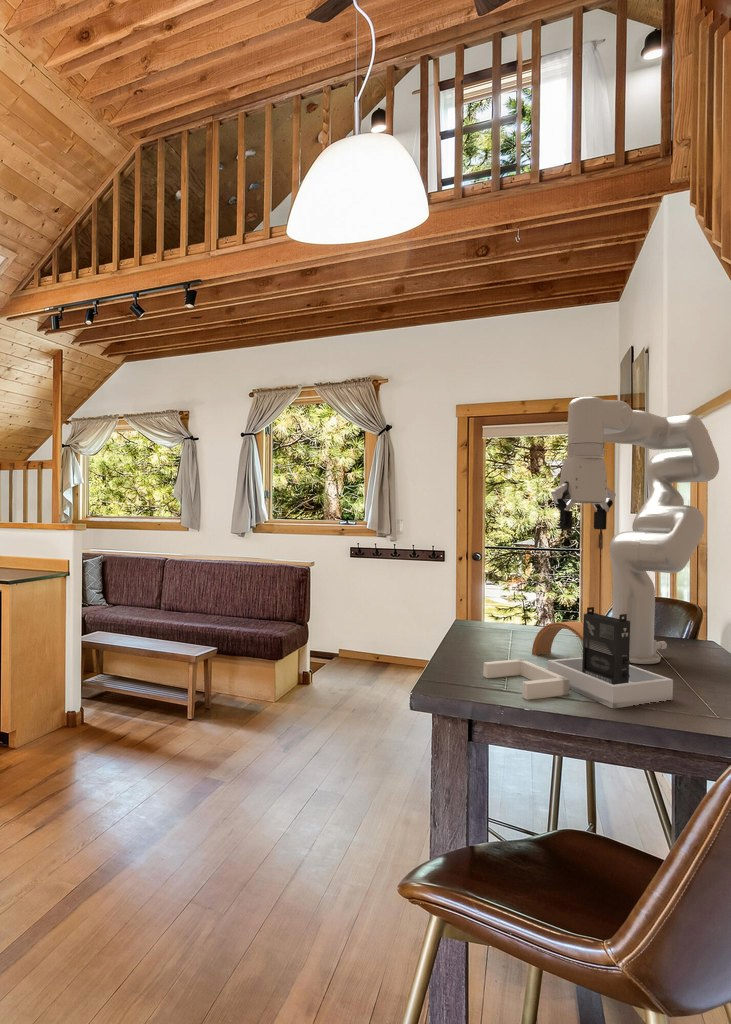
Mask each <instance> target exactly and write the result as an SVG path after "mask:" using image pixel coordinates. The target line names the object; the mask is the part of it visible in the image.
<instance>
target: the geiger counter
mask: <svg viewBox="0 0 731 1024" xmlns="http://www.w3.org/2000/svg"><path fill="white" fill-rule="evenodd" d="M590 610H591V611H590ZM622 617H624V619H622ZM582 620H583V622H582V623H583V642H582V672H583V673H585V674H588V675H590V676H593V677H595V678H598V679H600V680H603V681H605V682H608V683H610V684H613V685H615V684H623V683H629V677H630V675H629V665H631V664H630V660H629V649H630V621H628V620H627V614H621V615H619V619H617V618H613V617H612V616H609V615H603V614H599V613H597V612H595V607H594V606H588V607H587V608H586V613H583V619H582Z"/></svg>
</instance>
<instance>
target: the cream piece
mask: <svg viewBox="0 0 731 1024" xmlns="http://www.w3.org/2000/svg"><path fill="white" fill-rule="evenodd" d="M482 669H483V671H482V672H483V673H482V676H483V677H484V678H486V679H492V678H495V679H496V678H503V677H511V676H512V677H513V676H514V677H515V676H522V677H524V678H526V679H528V680H527V681H526V680H525V681H524V680H523V681H522V687H521V688H522V691H521V698H523V699H525V700H527V701H528V700H536V699H544V698H553V697H562V696H569V695H570V689H569V679H567V678H565V677H563V676H560V675H558V674H556V673H553V672H551V671H549V670H547V669H546V668H544V667H541V666H540V665H537V664H534V663H532V662H530V661H527V660H526V659H523V658H518V659H507V660H496V661H484V662H483V668H482Z"/></svg>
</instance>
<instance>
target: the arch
mask: <svg viewBox="0 0 731 1024" xmlns="http://www.w3.org/2000/svg"><path fill="white" fill-rule="evenodd" d="M564 629H566V630H568V631H570V632H571V633H573V634H574V635H576V637H578V639H579V640H580V641H581V642H582V643H583V622H580V621H578V620H577V621H576V620H575V621H574V620H573V621H572V620H570V621H559V622H552V623H548V624H546V625H545V626H543V627H542V628H541V629H540V630H539V632H538V633H537V634H536V636H535V638H534V641H533V644H532V648H531V655H533V656H538V655H540V654H541V655H549V654H551V653H552V646H553V643H554V640H555V638H556V637H557V635H558V634H559V632H560V631H562V630H564ZM548 653H549V654H548Z"/></svg>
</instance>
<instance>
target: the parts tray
mask: <svg viewBox="0 0 731 1024" xmlns="http://www.w3.org/2000/svg"><path fill="white" fill-rule="evenodd" d="M582 657H583V656H582ZM582 657H581V656H580V657H569V658H568V657H567V658H560V659H559V658H557V659H548V660H547V669H546V670H549V671H551V672H553V673H556V674H558V675H560V676H563V677H565V678H567V679H569V690H570V691H573V692H576V693H577V694H579V695H582V696H585V697H586V698H588V699H591V700H593V701H595V702H597V703H599V704H602V705H604V706H606V707H608V708H611V710H612V709H620V708H625V707H628V708H629V707H633V705H635V706H640V705H639V704H642V705H645V704H644V703H649V704H651V703H650V702H656V703H660V702H659V701H664V702H667V701H666V700H671V701H673V699H674V698H673V692H674V691H673V690H674V679H672V678H669V677H666V676H663V675H661V674H657V673H656V672H655V673H654V672H651V671H649V670H645V669H643V668H640V667H638V666H635V665H631V664H629V675H630V677H629V683H623V684H615V685H613V684H610V683H608V682H605V681H603V680H600V679H598V678H595V677H593V676H590V675H588V674H585V673H583V672H582Z"/></svg>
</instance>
